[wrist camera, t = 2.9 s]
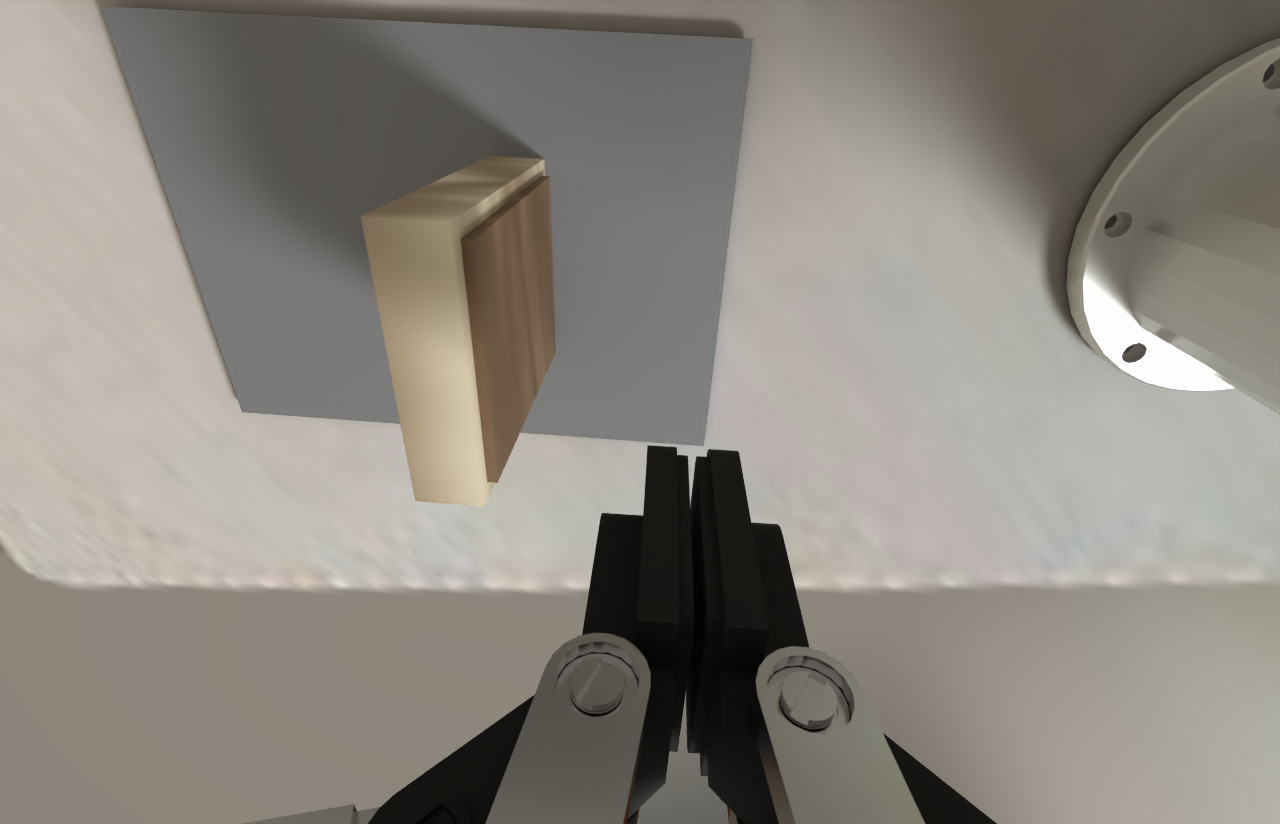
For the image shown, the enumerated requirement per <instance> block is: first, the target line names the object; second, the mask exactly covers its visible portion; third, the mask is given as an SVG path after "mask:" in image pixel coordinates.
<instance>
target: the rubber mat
mask: <svg viewBox="0 0 1280 824" xmlns="http://www.w3.org/2000/svg"><path fill="white" fill-rule="evenodd" d="M100 7H101V10H102V13H103V15H104V18H105V21H106V24H107V27H108V30H109V33H110V35H111V38H112V41H113V44H114V47H115V50H116V53H117V55H118V58H119V61H120V64H121V67H122V70H123V73H124V75H125V78H126V81H127V84H128V87H129V90H130V93H131V96H132V98H133V101H134V104H135V107H136V110H137V113H138V116H139V118H140V121H141V124H142V127H143V130H144V133H145V136H146V138H147V141H148V144H149V147H150V150H151V153H152V156H153V158H154V161H155V164H156V167H157V170H158V173H159V176H160V178H161V181H162V184H163V187H164V190H165V193H166V196H167V198H168V201H169V204H170V207H171V210H172V213H173V216H174V219H175V221H176V224H177V227H178V230H179V233H180V236H181V239H182V241H183V244H184V247H185V250H186V253H187V256H188V259H189V261H190V264H191V267H192V270H193V273H194V276H195V279H196V281H197V284H198V287H199V290H200V293H201V296H202V299H203V301H204V304H205V307H206V310H207V313H208V316H209V319H210V322H211V324H212V327H213V330H214V333H215V336H216V339H217V342H218V344H219V347H220V350H221V353H222V356H223V359H224V362H225V364H226V367H227V370H228V373H229V376H230V379H231V382H232V384H233V387H234V390H235V393H236V396H237V399H238V402H239V404H240V407H241V410H242V412H248V413H261V414H275V415H288V416H302V417H316V418H329V419H343V420H356V421H370V422H384V423H397V424H400V418H399V413H398V408H397V403H396V398H395V392H394V387H393V382H392V377H391V371H390V366H389V361H388V356H387V351H386V345H385V340H384V335H383V330H382V325H381V319H380V314H379V309H378V304H377V299H376V293H375V288H374V283H373V278H372V273H371V267H370V262H369V257H368V252H367V247H366V241H365V236H364V231H363V226H362V220H361V216H363V215H365V214H367V213H369V212H371V211H373V210H375V209H377V208H380V207H382V206H384V205H386V204H388V203H390V202H392V201H395V200H397V199H399V198H401V197H403V196H405V195H407V194H409V193H412V192H414V191H416V190H418V189H420V188H422V187H424V186H427V185H429V184H431V183H433V182H435V181H437V180H439V179H441V178H444V177H446V176H448V175H450V174H452V173H454V172H456V171H458V170H461V169H463V168H465V167H467V166H469V165H471V164H473V163H476V162H478V161H480V160H482V159H484V158H486V157H488V156H504V157H521V158H539V159H544V165H545V176H550V186H551V218H552V250H553V281H554V313H555V345H556V353H555V355H554V357H553V360H552V362H551V364H550V366H549V369H548V371H547V373H546V375H545V378H544V380H543V382H542V384H541V386H540V389H539V391H538V393H537V395H536V398H535V400H534V402H533V404H532V407H531V409H530V411H529V413H528V416H527V418H526V420H525V422H524V424H523V427H522V429H521V431H520V433H533V434H547V435H560V436H574V437H588V438H601V439H615V440H628V441H642V442H656V443H669V444H683V445H697V446H704V439H705V431H706V422H707V414H708V406H709V397H710V389H711V381H712V372H713V364H714V356H715V347H716V339H717V331H718V322H719V314H720V306H721V297H722V289H723V281H724V272H725V264H726V256H727V247H728V239H729V231H730V222H731V214H732V206H733V197H734V189H735V181H736V172H737V164H738V156H739V147H740V139H741V131H742V122H743V114H744V106H745V97H746V89H747V81H748V73H749V64H750V56H751V48H752V39H748V38H728V37H708V36H688V35H668V34H648V33H628V32H608V31H588V30H568V29H548V28H528V27H509V26H489V25H469V24H449V23H429V22H409V21H389V20H369V19H349V18H329V17H309V16H289V15H269V14H249V13H229V12H209V11H189V10H169V9H149V8H130V7H110V6H100Z"/></svg>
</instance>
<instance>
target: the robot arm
mask: <svg viewBox="0 0 1280 824" xmlns="http://www.w3.org/2000/svg"><path fill="white" fill-rule="evenodd" d="M1067 293H1068V299H1069V305H1070V311H1071V315H1072V317H1073V319H1074V321H1075V324H1076V326H1077V328H1078V330H1079V332H1080V334H1081V336H1082V338H1083V339H1084V340H1085V341H1086V342H1087V343H1088V345H1089V346H1090V347H1091V348H1092V349H1093V350H1094V351H1095V353H1096V354H1097V355H1098V356H1100V357H1101V358H1102V359H1104V360H1105V361H1106V362H1108V363H1109V364H1111V365H1112V366H1113V367H1115V368H1116V369H1117V370H1119V371H1121V372H1122V373H1124V374H1126V375H1128V376H1130V377H1132V378H1134V379H1136V380H1138V381H1140V382H1142V383H1146V384H1150V385H1154V386H1157V387H1161V388H1165V389H1169V390H1183V391H1198V392H1202V391H1213V390H1225V389H1234V388H1236V389H1237V390H1239V391H1241V392H1242V393H1244V394H1246V395H1247V396H1249V397H1251V398H1253V399H1254V400H1256V401H1258V402H1259V403H1261V404H1263V405H1264V406H1266V407H1268V408H1270V409H1271V410H1273V411H1275V412H1276V413H1278V414H1280V38H1278V39H1275V40H1272V41H1269V42H1266V43H1264V44H1262V45H1260V46H1258V47H1256V48H1254V49H1252V50H1250V51H1248V52H1246V53H1244V54H1242V55H1240V56H1238V57H1236V58H1234V59H1232V60H1230V61H1228V62H1226V63H1224V64H1222V65H1221V66H1219V67H1218V68H1216V69H1215V70H1213V71H1212V72H1210V73H1209V74H1207V75H1206V76H1204V77H1203V78H1201V79H1200V80H1198V81H1197V82H1196V83H1194V84H1193V85H1191V86H1190V87H1188V88H1187V89H1185V90H1184V91H1182V92H1181V93H1180V94H1179V95H1177V96H1176V97H1175V98H1174V99H1173V100H1172V101H1171V102H1170V103H1168V104H1167V105H1166V106H1165V107H1164V108H1163V109H1162V110H1160V111H1159V112H1158V113H1157V114H1156V115H1155V116H1154V117H1153V118H1151V119H1150V120H1149V121H1148V122H1147V123H1146V124H1145V125H1144V126H1143V127H1142V128H1141V129H1140V131H1139V132H1138V133H1137V134H1136V135H1135V136H1134V137H1133V138H1132V140H1131V141H1130V142H1129V143H1128V144H1127V145H1126V146H1125V148H1124V149H1123V150H1122V151H1121V152H1120V153H1119V154H1118V156H1117V157H1116V158H1115V159H1114V161H1113V162H1112V164H1111V165H1110V167H1109V168H1108V170H1107V171H1106V173H1105V175H1104V176H1103V178H1102V179H1101V181H1100V182H1099V184H1098V185H1097V187H1096V188H1095V190H1094V191H1093V193H1092V195H1091V197H1090V199H1089V201H1088V204H1087V206H1086V208H1085V210H1084V212H1083V214H1082V217H1081V219H1080V221H1079V223H1078V225H1077V228H1076V232H1075V236H1074V239H1073V243H1072V247H1071V250H1070V254H1069V258H1068V272H1067ZM685 693H686V715H687V749H688V753H700V768H701V776H708V784H709V787H710V788H711V789H712V790H713V791H714V792H715V793H716V794H717V795H718V797H720V799H721V800H722V801H723V802H724V803H725V804H726V805H727V814H728V824H996V823H995V822H994V821H992V820H991V819H990V818H989V817H988V816H986V815H985V814H984V813H983V812H981V811H980V810H979V809H978V808H976V807H975V806H974V805H972V804H971V803H970V802H969V801H968V800H966V799H965V798H964V797H962V796H961V795H960V794H959V793H958V792H956V791H955V790H954V789H952V788H951V787H950V786H949V785H947V784H946V783H945V782H943V781H942V780H941V779H940V778H939V777H937V776H936V775H935V774H934V773H932V772H931V771H930V770H929V769H927V768H926V767H925V766H924V765H922V764H921V763H920V762H919V761H917V760H916V759H915V758H914V757H912V756H911V755H910V754H909V753H907V752H906V751H905V750H904V749H902V748H901V747H900V746H898V745H897V744H896V743H895V742H893V741H892V740H891V739H890V738H888V737H887V736H886V735H885V734H883V733H882V731H881V728H880V726H879V724H878V722H877V720H876V718H875V715H874V713H873V711H872V709H871V707H870V705H869V702H868V700H867V698H866V696H865V694H864V692H863V690H862V688H861V686H860V685H859V683H858V682H857V680H856V678H855V677H854V676H853V674H852V673H851V672H850V671H849V670H848V669H847V668H846V667H845V666H844V665H843V664H842V663H841V662H839V661H838V660H836V659H834V658H833V657H831V656H829V655H828V654H826V653H824V652H821V651H818V650H815V649H812V648H809V644H808V640H807V636H806V632H805V627H804V624H803V619H802V615H801V610H800V607H799V602H798V598H797V594H796V589H795V585H794V581H793V577H792V572H791V568H790V564H789V560H788V556H787V551H786V547H785V543H784V539H783V535H782V531H781V528H780V527H779V525H778V524H763V523H751V519H750V513H749V508H748V502H747V496H746V490H745V485H744V479H743V473H742V467H741V462H740V456H739V452H738V451H728V450H712V449H709V450H708V452H707V457H700V456H697V457H696V462H695V471H694V480H693V488H692V497H691V506H690V495H689V472H688V456H684V455H677V448H676V447H664V446H648V449H647V466H646V482H645V498H644V514H643V516H639V515H624V514H609V513H602V515H601V519H600V525H599V531H598V538H597V544H596V550H595V557H594V563H593V569H592V576H591V582H590V589H589V595H588V602H587V608H586V614H585V621H584V627H583V634H582V635H581V636H578V637H576V638H574V639H572V640H570V641H568V642H566V643H564V644H563V645H562V646H561V647H560V648H559V649H558V650H557V651H556V652H555V653H554V654H553V655H552V657H551V658H550V660H549V662H548V664H547V665H546V667H545V670H544V672H543V675H542V678H541V680H540V683H539V685H538V688H537V691H536V693H535V695H534V696H532V697H531V698H529V699H528V700H527V701H525V702H524V703H522V704H521V705H520V706H518V707H517V708H515V709H514V710H513V711H511V712H510V713H508V714H507V715H506V716H504V717H503V718H502V719H500V720H499V721H497V722H496V723H495V724H493V725H491V726H490V727H489V728H487V729H486V730H484V731H483V732H482V733H480V734H479V735H477V736H476V737H475V738H473V739H472V740H470V741H469V742H468V743H466V744H465V745H463V746H462V747H461V748H459V749H458V750H457V751H455V752H453V753H452V754H451V755H449V756H448V757H447V758H445V759H444V760H442V761H441V762H439V763H438V764H437V765H435V766H434V767H432V768H431V769H430V770H428V771H427V772H425V773H424V774H423V775H421V776H420V777H418V778H417V779H416V780H414V781H413V782H411V783H410V784H408V785H407V786H406V787H404V788H403V789H401V790H400V791H399V792H397V793H396V794H395V795H394V796H392V797H391V798H390V799H389V800H388V801H387V802H386V803H385V804H383V805H382V806H381V807H377V808H372V809H366V810H361V811H357V810H356V807H355V805H354V804H352V805H346V806H341V807H335V808H330V809H324V810H318V811H312V812H307V813H301V814H296V815H290V816H284V817H278V818H273V819H268V820H262V821H256V822H250V823H245V824H638V819H639V814H640V807H641V806H642V805H643V804H644V803H645V802H646V801H647V800H648V799H649V798H650V797H651V796H652V795H653V794H654V793H655V792H656V791H657V790H658V789H659V788H661V787H662V786H663V784H665V781H666V772H667V765H668V756H669V751H674V752H677V751H678V744H679V736H680V730H681V722H682V715H683V707H684V700H685Z"/></svg>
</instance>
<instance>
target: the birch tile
mask: <svg viewBox="0 0 1280 824" xmlns="http://www.w3.org/2000/svg"><path fill="white" fill-rule="evenodd" d="M361 220H362V226H363V231H364V236H365V241H366V247H367V252H368V257H369V262H370V267H371V273H372V278H373V283H374V288H375V293H376V299H377V304H378V309H379V314H380V319H381V325H382V330H383V335H384V340H385V345H386V351H387V356H388V361H389V366H390V371H391V377H392V382H393V387H394V392H395V398H396V403H397V408H398V413H399V418H400V424H401V429H402V434H403V439H404V444H405V450H406V455H407V460H408V465H409V470H410V476H411V481H412V486H413V491H414V496H415V501H422V502H434V503H447V504H460V505H473V506H484V505H485V502H486V500H487V498H488V496H489V494H490V491H491V489H492V487H493V485H494V483H497V482H498V480H499V478H500V476H501V474H502V471H503V469H504V467H505V465H506V462H507V460H508V458H509V456H510V453H511V451H512V449H513V447H514V445H515V442H516V440H517V438H518V436H519V433H520V431H521V429H522V427H523V424H524V422H525V420H526V418H527V416H528V413H529V411H530V409H531V407H532V404H533V402H534V400H535V398H536V395H537V393H538V391H539V389H540V386H541V384H542V382H543V380H544V378H545V375H546V373H547V371H548V369H549V366H550V364H551V362H552V360H553V357H554V355H555V353H556V345H555V313H554V281H553V250H552V218H551V186H550V176H545V165H544V159H539V158H521V157H504V156H488V157H486V158H484V159H482V160H480V161H478V162H476V163H473V164H471V165H469V166H467V167H465V168H463V169H461V170H458V171H456V172H454V173H452V174H450V175H448V176H446V177H444V178H441V179H439V180H437V181H435V182H433V183H431V184H429V185H427V186H424V187H422V188H420V189H418V190H416V191H414V192H412V193H409V194H407V195H405V196H403V197H401V198H399V199H397V200H395V201H392V202H390V203H388V204H386V205H384V206H382V207H380V208H377V209H375V210H373V211H371V212H369V213H367V214H365V215H363V216H361Z"/></svg>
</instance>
